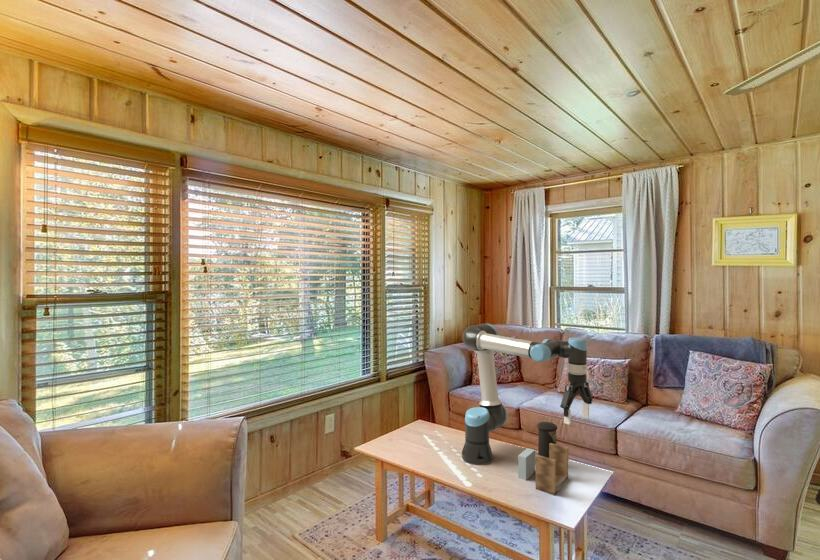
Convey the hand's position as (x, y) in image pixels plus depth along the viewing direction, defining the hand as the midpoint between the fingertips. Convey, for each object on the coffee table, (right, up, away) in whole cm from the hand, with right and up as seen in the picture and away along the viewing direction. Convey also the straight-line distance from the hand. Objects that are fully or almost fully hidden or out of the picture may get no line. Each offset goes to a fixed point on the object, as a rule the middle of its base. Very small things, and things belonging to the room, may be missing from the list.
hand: (576, 420), depth 181 cm
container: (-9, -25, +11) cm, 29 cm away
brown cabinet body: (-13, -25, -6) cm, 29 cm away
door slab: (-21, -25, +3) cm, 33 cm away
